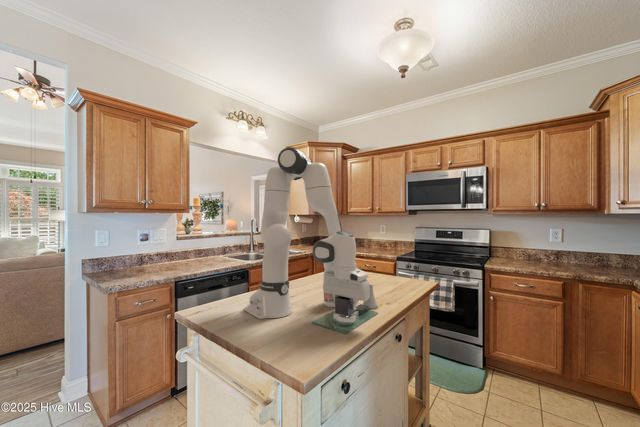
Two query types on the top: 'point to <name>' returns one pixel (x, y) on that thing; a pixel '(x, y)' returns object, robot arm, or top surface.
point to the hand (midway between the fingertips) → (345, 307)
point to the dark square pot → (344, 305)
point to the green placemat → (345, 319)
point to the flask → (371, 300)
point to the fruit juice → (327, 297)
